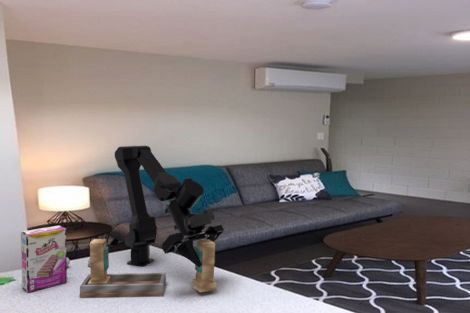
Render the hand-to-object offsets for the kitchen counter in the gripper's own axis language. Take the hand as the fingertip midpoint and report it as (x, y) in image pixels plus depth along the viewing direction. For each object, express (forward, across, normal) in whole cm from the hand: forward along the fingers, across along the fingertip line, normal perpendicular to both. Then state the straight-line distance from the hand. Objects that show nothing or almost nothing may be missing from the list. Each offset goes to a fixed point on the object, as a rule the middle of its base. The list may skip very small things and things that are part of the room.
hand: (207, 264), depth 119 cm
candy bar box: (-19, -30, +32) cm, 48 cm away
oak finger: (+4, 0, +6) cm, 7 cm away
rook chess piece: (-23, -12, +36) cm, 45 cm away
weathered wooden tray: (-7, -15, +18) cm, 25 cm away
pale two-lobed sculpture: (-26, -23, +39) cm, 52 cm away
